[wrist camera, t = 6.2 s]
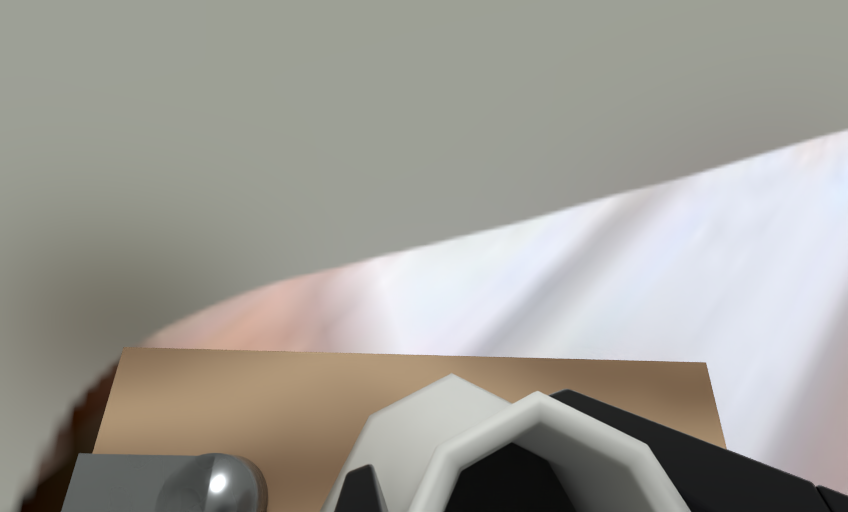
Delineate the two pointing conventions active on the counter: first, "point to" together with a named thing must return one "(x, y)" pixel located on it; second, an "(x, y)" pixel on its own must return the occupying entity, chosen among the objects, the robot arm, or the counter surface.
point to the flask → (503, 457)
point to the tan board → (350, 403)
